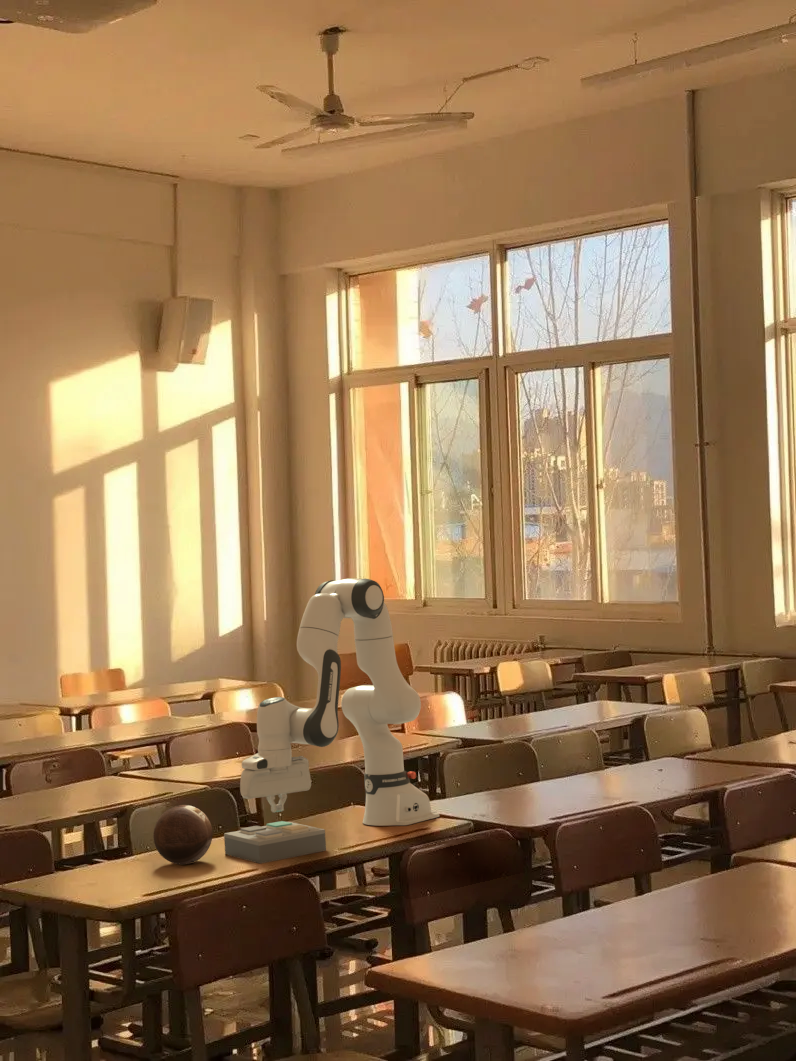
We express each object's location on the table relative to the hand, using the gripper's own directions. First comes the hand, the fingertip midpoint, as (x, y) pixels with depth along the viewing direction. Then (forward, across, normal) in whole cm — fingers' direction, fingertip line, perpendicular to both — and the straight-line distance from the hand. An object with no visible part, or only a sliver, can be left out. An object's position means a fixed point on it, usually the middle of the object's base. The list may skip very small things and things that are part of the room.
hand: (277, 811), depth 398 cm
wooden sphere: (+10, +26, -3) cm, 29 cm away
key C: (+6, 0, 0) cm, 6 cm away
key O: (+6, +8, 0) cm, 10 cm away
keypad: (+10, +4, +4) cm, 11 cm away
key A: (+6, +8, +8) cm, 13 cm away
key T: (+6, 0, +8) cm, 10 cm away
